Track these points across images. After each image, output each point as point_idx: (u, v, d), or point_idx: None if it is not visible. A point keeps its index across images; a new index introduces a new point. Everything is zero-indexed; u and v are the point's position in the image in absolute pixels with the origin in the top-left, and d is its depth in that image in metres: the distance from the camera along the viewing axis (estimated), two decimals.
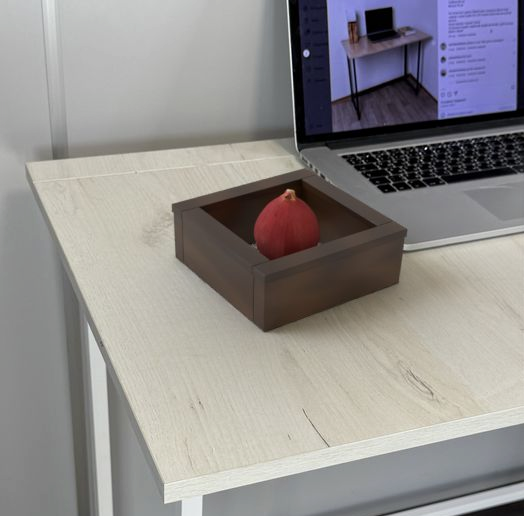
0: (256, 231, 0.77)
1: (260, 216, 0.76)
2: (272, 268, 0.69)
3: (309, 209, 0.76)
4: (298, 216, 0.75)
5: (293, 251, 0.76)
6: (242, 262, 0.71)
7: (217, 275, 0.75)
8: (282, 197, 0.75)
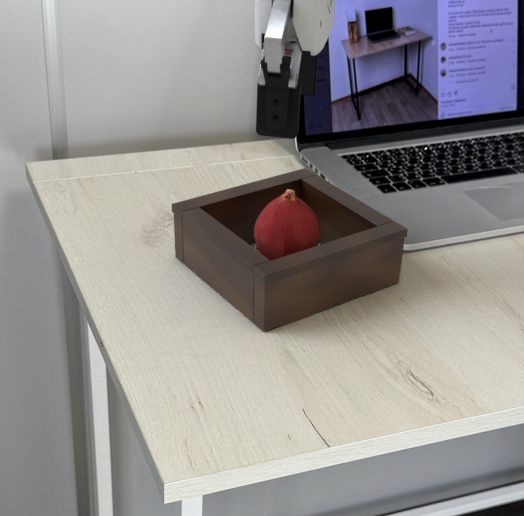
0: (256, 231, 0.77)
1: (260, 216, 0.76)
2: (272, 268, 0.69)
3: (309, 209, 0.76)
4: (298, 216, 0.75)
5: (293, 251, 0.76)
6: (242, 262, 0.71)
7: (217, 275, 0.75)
8: (282, 197, 0.75)
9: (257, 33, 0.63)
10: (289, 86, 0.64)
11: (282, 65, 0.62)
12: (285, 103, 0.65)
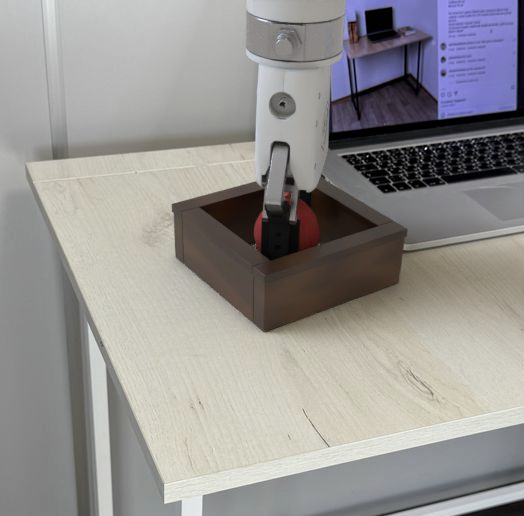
0: (256, 231, 0.77)
1: (260, 216, 0.76)
2: (272, 268, 0.69)
3: (309, 209, 0.76)
4: (298, 216, 0.75)
5: None
6: (242, 262, 0.71)
7: (217, 275, 0.75)
8: None
9: (257, 174, 0.70)
10: (290, 224, 0.72)
11: (283, 211, 0.70)
12: (286, 236, 0.73)
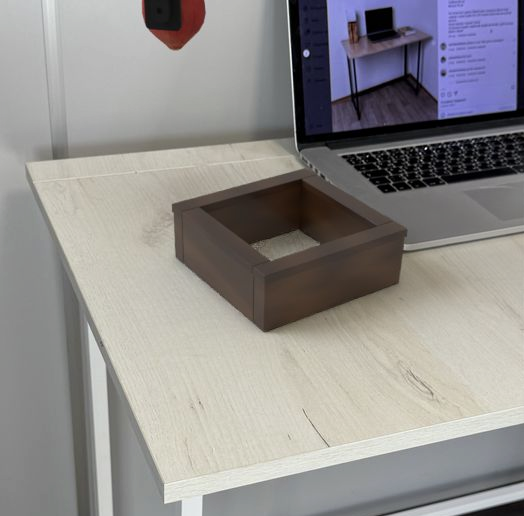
0: (142, 3, 0.79)
1: None
2: (272, 268, 0.69)
3: None
4: None
5: None
6: (242, 262, 0.71)
7: (217, 275, 0.75)
8: None
9: None
10: None
11: None
12: None
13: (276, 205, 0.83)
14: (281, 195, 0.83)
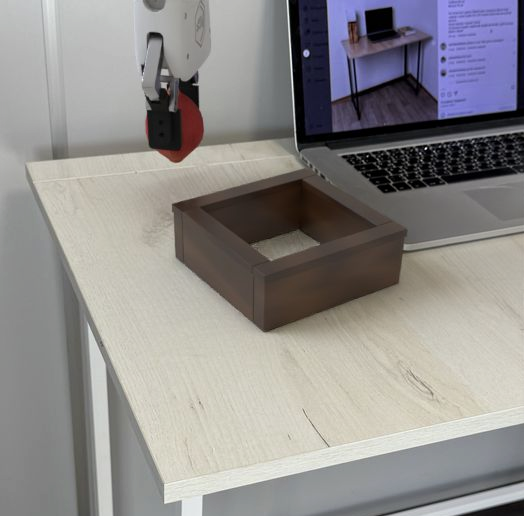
0: (146, 123, 0.86)
1: None
2: (272, 268, 0.69)
3: (192, 103, 0.86)
4: (181, 108, 0.84)
5: None
6: (242, 262, 0.71)
7: (217, 275, 0.75)
8: (167, 91, 0.85)
9: (138, 64, 0.79)
10: (170, 111, 0.81)
11: (160, 96, 0.79)
12: (168, 123, 0.82)
13: (276, 205, 0.83)
14: (281, 195, 0.83)
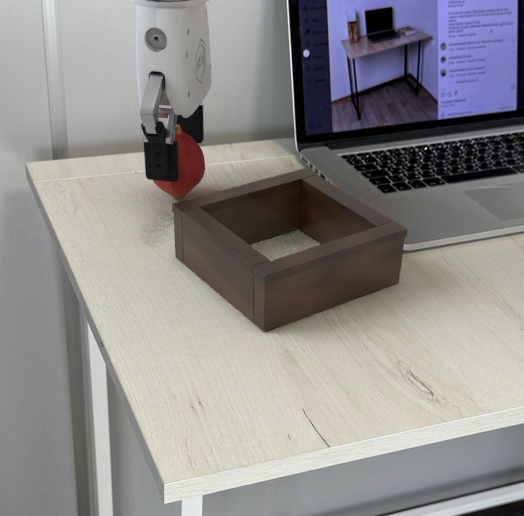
0: None
1: None
2: (272, 268, 0.69)
3: (194, 142, 0.88)
4: (182, 147, 0.87)
5: (179, 177, 0.87)
6: (242, 262, 0.71)
7: (217, 275, 0.75)
8: None
9: (140, 101, 0.81)
10: (166, 142, 0.81)
11: (157, 128, 0.79)
12: (165, 155, 0.82)
13: (276, 205, 0.83)
14: (281, 195, 0.83)
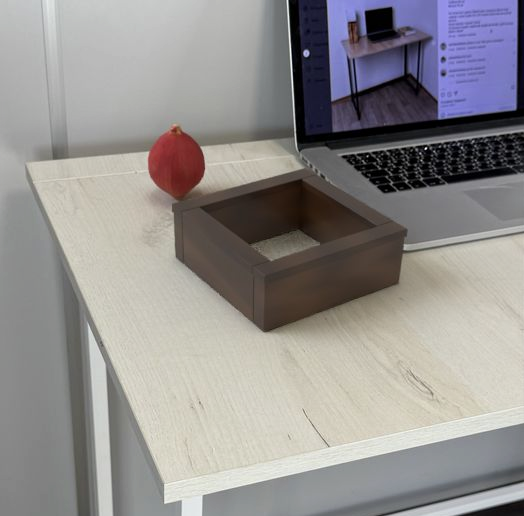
0: (148, 161, 0.88)
1: (151, 148, 0.88)
2: (272, 268, 0.69)
3: (194, 142, 0.88)
4: (182, 147, 0.87)
5: (179, 178, 0.87)
6: (242, 262, 0.71)
7: (217, 275, 0.75)
8: (169, 131, 0.87)
9: None
10: None
11: None
12: None
13: (276, 205, 0.83)
14: (281, 195, 0.83)
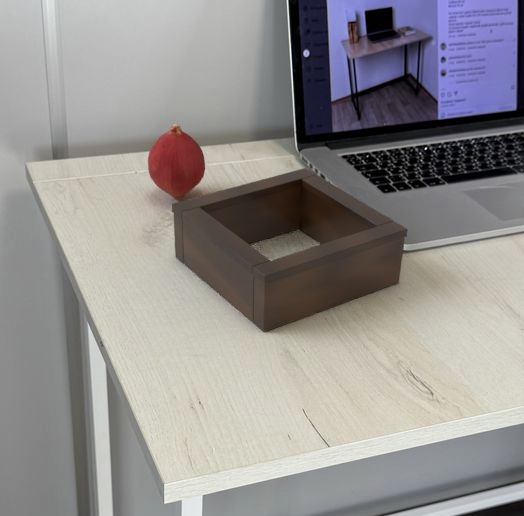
0: (148, 161, 0.88)
1: (151, 148, 0.88)
2: (272, 268, 0.69)
3: (194, 142, 0.88)
4: (182, 147, 0.87)
5: (179, 177, 0.87)
6: (242, 262, 0.71)
7: (217, 275, 0.75)
8: (169, 131, 0.87)
9: None
10: None
11: None
12: None
13: (276, 205, 0.83)
14: (281, 195, 0.83)
